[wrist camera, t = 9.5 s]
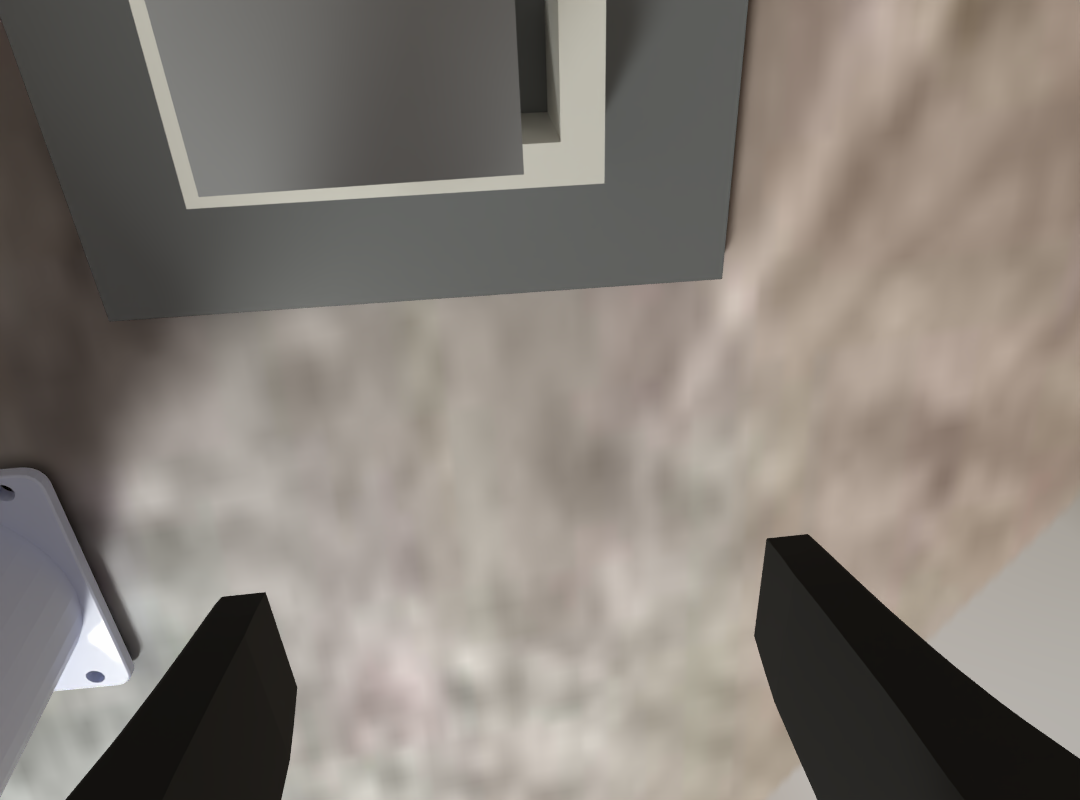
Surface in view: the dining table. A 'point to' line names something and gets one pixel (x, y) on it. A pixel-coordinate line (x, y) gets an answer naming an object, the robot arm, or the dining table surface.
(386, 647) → the dining table surface
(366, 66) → the plug
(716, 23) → the socket base
